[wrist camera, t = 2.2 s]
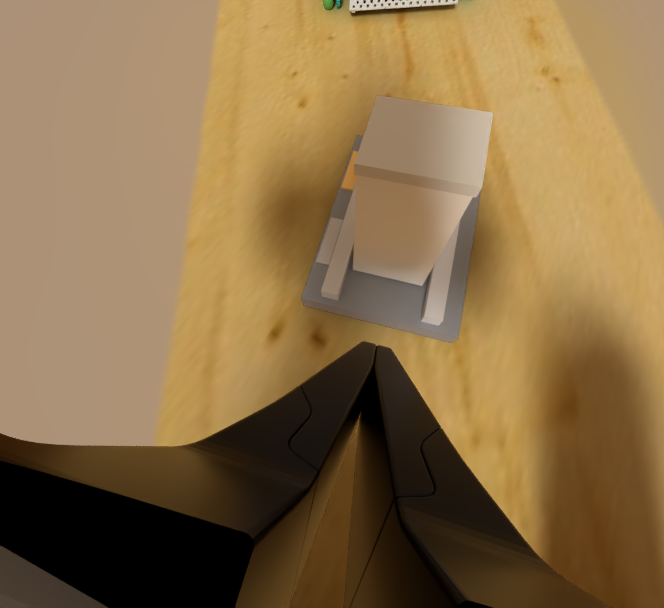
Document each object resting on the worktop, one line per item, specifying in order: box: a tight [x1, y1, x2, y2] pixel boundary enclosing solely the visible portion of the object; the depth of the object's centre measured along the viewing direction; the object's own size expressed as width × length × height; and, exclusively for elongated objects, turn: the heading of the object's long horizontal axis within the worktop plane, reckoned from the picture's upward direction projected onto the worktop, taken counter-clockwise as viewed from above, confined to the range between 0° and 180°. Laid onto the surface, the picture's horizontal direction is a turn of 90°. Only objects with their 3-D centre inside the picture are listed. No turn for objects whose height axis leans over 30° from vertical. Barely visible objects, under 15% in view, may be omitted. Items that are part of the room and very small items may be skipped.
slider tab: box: [353, 95, 493, 286], centre depth 18 cm, size 4×5×10 cm
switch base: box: [301, 135, 481, 343], centre depth 23 cm, size 16×11×3 cm
